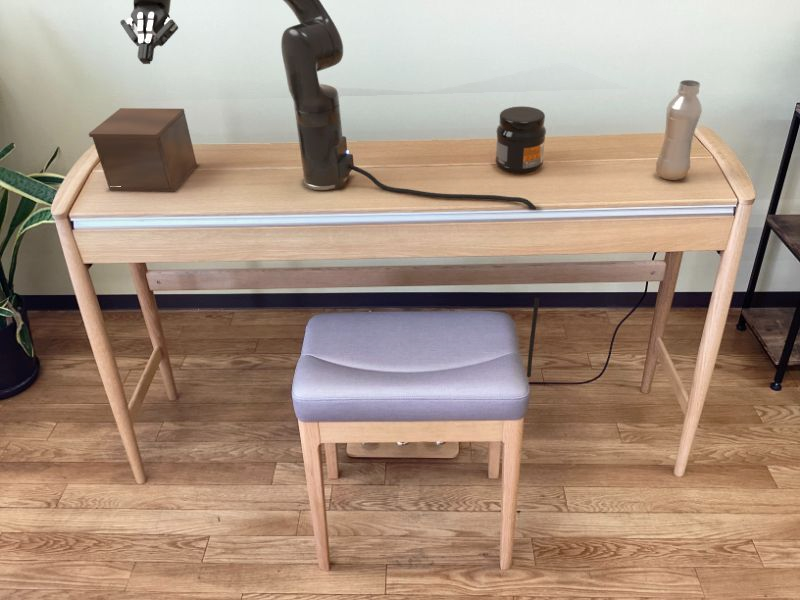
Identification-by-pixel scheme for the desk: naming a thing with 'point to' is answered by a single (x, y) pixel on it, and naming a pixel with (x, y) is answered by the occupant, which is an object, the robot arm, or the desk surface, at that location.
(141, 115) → the lid
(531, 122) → the supplement container
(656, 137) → the desk surface
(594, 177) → the desk surface
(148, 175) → the chest
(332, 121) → the robot arm
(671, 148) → the plastic bottle
